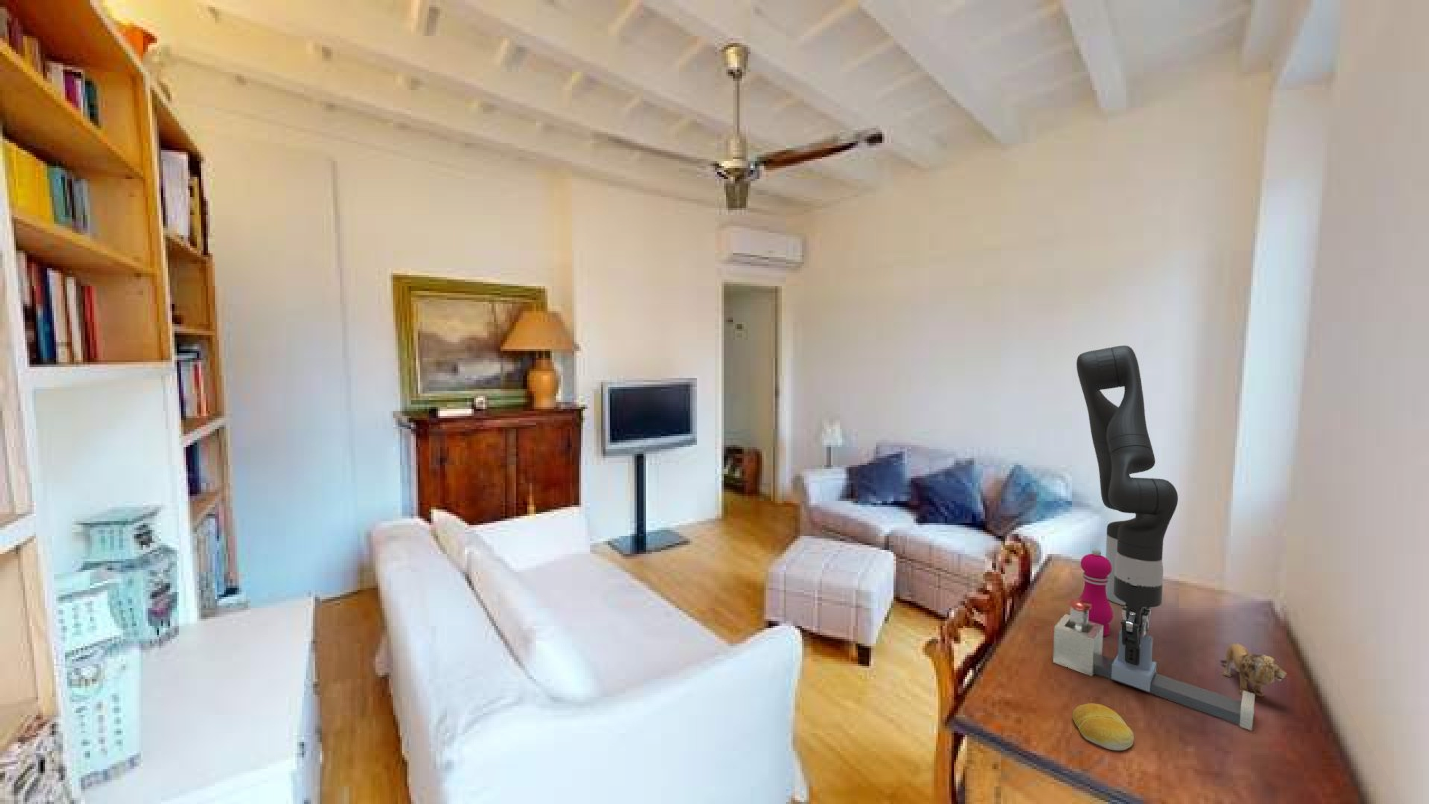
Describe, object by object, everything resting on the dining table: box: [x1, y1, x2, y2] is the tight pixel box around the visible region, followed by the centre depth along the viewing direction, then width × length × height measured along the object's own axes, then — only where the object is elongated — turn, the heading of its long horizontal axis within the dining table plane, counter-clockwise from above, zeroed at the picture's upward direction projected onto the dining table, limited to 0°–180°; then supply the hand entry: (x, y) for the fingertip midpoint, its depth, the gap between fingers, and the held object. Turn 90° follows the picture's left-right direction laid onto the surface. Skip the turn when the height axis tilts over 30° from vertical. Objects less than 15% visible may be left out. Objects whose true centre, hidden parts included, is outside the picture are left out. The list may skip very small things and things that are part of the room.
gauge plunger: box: [1068, 597, 1091, 632], centre depth 113 cm, size 4×4×6 cm
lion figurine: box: [1219, 643, 1288, 697], centre depth 105 cm, size 15×5×9 cm, turn 164°
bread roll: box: [1072, 702, 1135, 751], centre depth 92 cm, size 8×9×4 cm
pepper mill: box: [1079, 548, 1114, 637], centre depth 126 cm, size 7×7×20 cm
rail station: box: [1052, 613, 1256, 732], centre depth 105 cm, size 8×30×8 cm, turn 42°
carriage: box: [1110, 627, 1158, 693], centre depth 106 cm, size 7×6×9 cm
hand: (1134, 658), depth 106 cm, fingers open, 3 cm apart
